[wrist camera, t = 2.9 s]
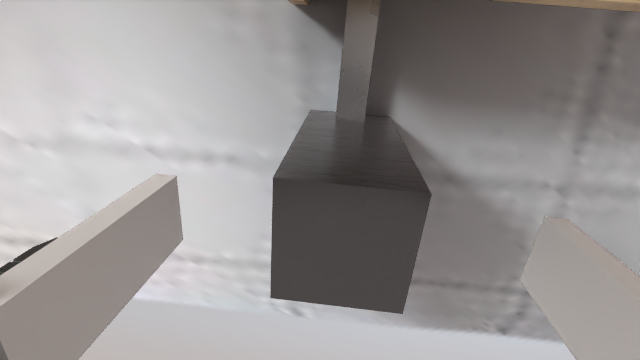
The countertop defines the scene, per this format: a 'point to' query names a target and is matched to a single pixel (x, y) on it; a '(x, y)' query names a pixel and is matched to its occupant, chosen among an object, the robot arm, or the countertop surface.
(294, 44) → the countertop surface
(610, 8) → the shelf
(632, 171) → the countertop surface
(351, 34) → the tool
